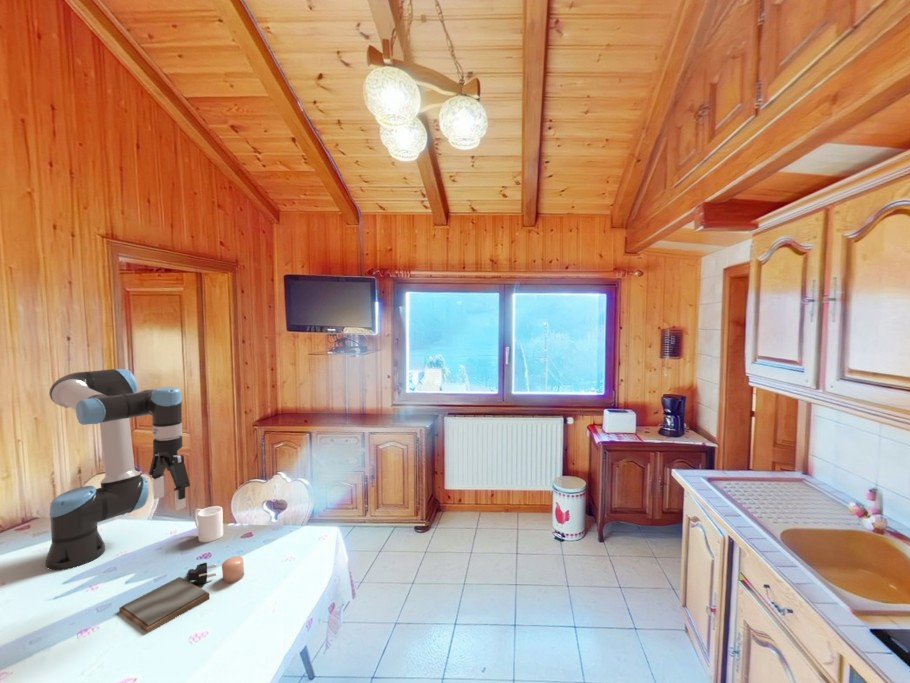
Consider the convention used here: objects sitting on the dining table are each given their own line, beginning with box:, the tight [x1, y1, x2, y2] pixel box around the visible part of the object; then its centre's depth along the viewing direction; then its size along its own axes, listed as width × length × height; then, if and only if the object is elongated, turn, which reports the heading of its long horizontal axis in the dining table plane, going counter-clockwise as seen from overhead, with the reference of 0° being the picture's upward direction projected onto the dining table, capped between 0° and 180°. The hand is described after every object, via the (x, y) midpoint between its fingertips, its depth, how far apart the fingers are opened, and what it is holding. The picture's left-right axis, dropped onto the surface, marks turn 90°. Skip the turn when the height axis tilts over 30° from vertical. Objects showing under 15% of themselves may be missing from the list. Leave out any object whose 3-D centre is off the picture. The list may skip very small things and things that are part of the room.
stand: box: [119, 576, 210, 634], centre depth 118 cm, size 16×16×2 cm
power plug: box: [187, 562, 217, 585], centre depth 132 cm, size 6×8×12 cm
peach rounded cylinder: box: [221, 556, 245, 584], centre depth 132 cm, size 6×6×5 cm
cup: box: [194, 505, 224, 543], centre depth 158 cm, size 8×12×10 cm
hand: (169, 503), depth 129 cm, fingers open, 13 cm apart
